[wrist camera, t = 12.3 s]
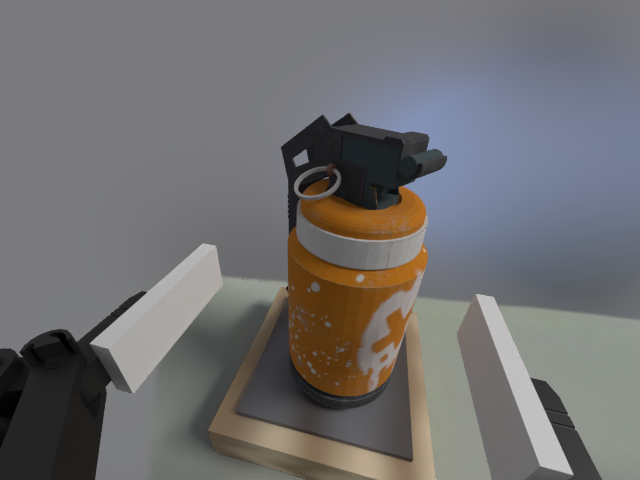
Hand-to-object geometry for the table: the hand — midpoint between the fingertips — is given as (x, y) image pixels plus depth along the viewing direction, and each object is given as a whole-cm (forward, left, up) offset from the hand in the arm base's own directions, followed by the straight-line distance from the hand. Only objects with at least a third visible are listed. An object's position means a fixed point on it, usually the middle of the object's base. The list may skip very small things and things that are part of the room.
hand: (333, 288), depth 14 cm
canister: (0, -5, -13) cm, 14 cm away
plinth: (0, -5, -17) cm, 17 cm away
